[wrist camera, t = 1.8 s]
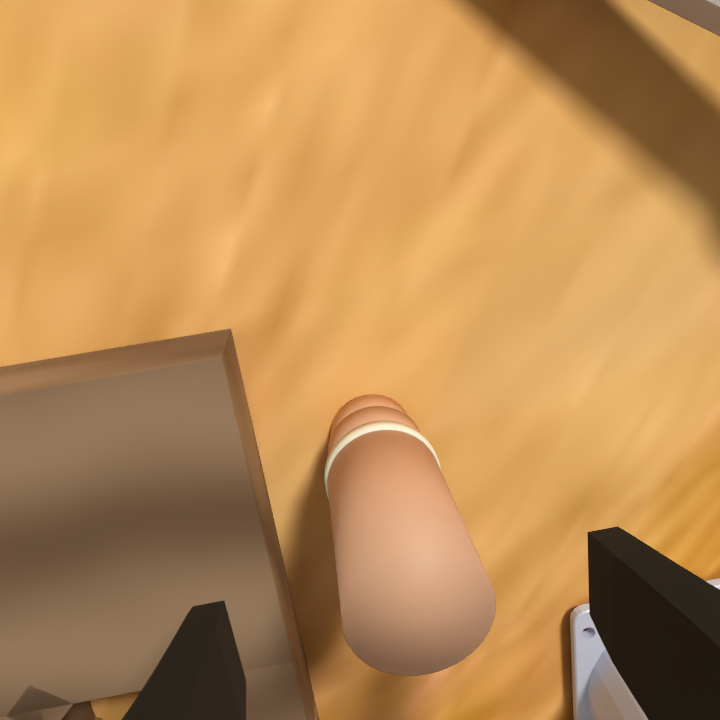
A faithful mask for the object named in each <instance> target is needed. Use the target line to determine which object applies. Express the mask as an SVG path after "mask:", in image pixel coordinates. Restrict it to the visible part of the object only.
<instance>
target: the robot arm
mask: <svg viewBox="0 0 720 720" xmlns="http://www.w3.org/2000/svg"><path fill="white" fill-rule="evenodd" d="M588 568H589V603H587V604H582V605H579V606H577V607H576V608H575V609H574V610H573V611H572V613H571V615H570V632H571V660H572V687H573V715H574V720H720V578H718V579H713V580H708V581H704V580H703V579H701V578H699V577H698V576H696V575H694V574H693V573H691V572H689V571H688V570H686V569H685V568H683V567H681V566H680V565H678V564H677V563H675V562H673V561H672V560H670V559H669V558H667V557H665V556H664V555H662V554H661V553H659V552H658V551H656V550H654V549H653V548H651V547H650V546H648V545H647V544H645V543H643V542H642V541H640V540H639V539H637V538H636V537H634V536H632V535H631V534H629V533H628V532H626V531H624V530H623V529H621V528H619V527H613V528H608V529H602V530H597V531H592V532H588ZM586 628H588V629H587V630H585V631H583V630H584V629H586ZM122 720H246V678H245V674H244V671H243V667H242V663H241V660H240V656H239V652H238V649H237V645H236V642H235V638H234V634H233V631H232V627H231V623H230V620H229V616H228V612H227V609H226V605H225V601H218V602H213V603H208V604H202V605H197V606H193V607H192V608H191V609H190V611H189V612H188V613H187V615H186V617H185V619H184V620H183V622H182V624H181V626H180V627H179V629H178V631H177V633H176V634H175V636H174V638H173V640H172V641H171V643H170V645H169V646H168V648H167V650H166V651H165V653H164V655H163V656H162V658H161V660H160V661H159V663H158V665H157V666H156V668H155V670H154V671H153V673H152V674H151V676H150V678H149V679H148V681H147V682H146V684H145V685H144V687H143V689H142V690H141V692H140V693H139V695H138V697H137V698H136V700H135V701H134V703H133V704H132V706H131V707H130V709H129V710H128V712H127V713H126V715H125V716H124V717H123V719H122Z"/></svg>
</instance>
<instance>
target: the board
mask: <svg viewBox="0 0 720 720" xmlns="http://www.w3.org/2000/svg"><path fill="white" fill-rule="evenodd" d="M218 601H225V605H226V609H227V612H228V616H229V620H230V623H231V627H232V631H233V634H234V638H235V642H236V645H237V649H238V652H239V656H240V660H241V663H242V667H243V671H244V674H245V678H246V720H319V717H318V713H317V709H316V704H315V700H314V695H313V691H312V686H311V682H310V678H309V673H308V669H307V664H306V660H305V655H304V651H303V647H302V642H301V638H300V633H299V629H298V624H297V620H296V616H295V611H294V607H293V602H292V598H291V593H290V589H289V585H288V580H287V576H286V571H285V567H284V562H283V558H282V554H281V549H280V545H279V540H278V536H277V531H276V527H275V523H274V518H273V514H272V509H271V505H270V500H269V496H268V492H267V487H266V483H265V478H264V474H263V469H262V465H261V461H260V456H259V452H258V447H257V443H256V438H255V434H254V429H253V425H252V421H251V416H250V412H249V407H248V403H247V398H246V394H245V390H244V385H243V381H242V376H241V372H240V367H239V363H238V359H237V354H236V350H235V345H234V341H233V336H232V332H231V329H227V330H221V331H215V332H209V333H203V334H197V335H191V336H185V337H179V338H173V339H167V340H161V341H155V342H149V343H143V344H137V345H131V346H125V347H119V348H113V349H107V350H101V351H95V352H89V353H83V354H77V355H71V356H66V357H60V358H54V359H48V360H42V361H36V362H30V363H24V364H18V365H12V366H6V367H0V720H102V719H99V718H97V717H95V715H94V712H93V709H92V707H91V704H90V702H89V701H90V700H95V699H101V698H106V697H111V696H116V695H122V694H127V693H132V692H137V691H141V690H142V689H143V687H144V685H145V684H146V682H147V681H148V679H149V678H150V676H151V674H152V673H153V671H154V670H155V668H156V666H157V665H158V663H159V661H160V660H161V658H162V656H163V655H164V653H165V651H166V650H167V648H168V646H169V645H170V643H171V641H172V640H173V638H174V636H175V634H176V633H177V631H178V629H179V627H180V626H181V624H182V622H183V620H184V619H185V617H186V615H187V613H188V612H189V611H190V609H191V608H192V607H193V606H197V605H202V604H208V603H213V602H218Z"/></svg>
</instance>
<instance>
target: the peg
mask: <svg viewBox="0 0 720 720" xmlns="http://www.w3.org/2000/svg"><path fill="white" fill-rule="evenodd" d="M330 436H331V437H330V440H329V443H328V459H327V461H326V465H325V473H324V478H325V488H326V493H327V497H328V500H329V505H330V514H331V524H332V533H333V543H334V552H335V562H336V572H337V581H338V591H339V600H340V610H341V619H342V629H343V633H344V636H345V639H346V641H347V643H348V645H349V647H350V648H351V650H352V651H353V652H354V653H355V654H356V655H357V657H358V658H360V659H361V660H362V661H363V662H365V663H366V664H368V665H369V666H371V667H373V668H375V669H377V670H380V671H382V672H386V673H389V674H395V675H403V676H417V675H425V674H430V673H434V672H438V671H441V670H443V669H446V668H448V667H451V666H453V665H455V664H457V663H458V662H460V661H461V660H463V659H465V658H466V657H467V656H468V655H470V654H471V653H472V652H473V651H474V650H475V649H476V648H477V647H478V646H479V645H480V644H481V643H482V641H483V640H484V639H485V637H486V635H487V634H488V632H489V630H490V628H491V626H492V623H493V620H494V617H495V610H496V600H495V594H494V590H493V587H492V584H491V582H490V580H489V578H488V575H487V573H486V571H485V569H484V566H483V564H482V562H481V560H480V557H479V555H478V553H477V551H476V548H475V546H474V544H473V542H472V539H471V537H470V535H469V533H468V530H467V528H466V526H465V524H464V521H463V519H462V517H461V515H460V512H459V510H458V508H457V506H456V503H455V501H454V499H453V497H452V494H451V492H450V490H449V488H448V485H447V483H446V481H445V479H444V476H443V474H442V472H441V468H440V463H439V460H438V457H437V455H436V453H435V451H434V449H433V447H432V445H431V444H430V442H429V441H428V439H427V438H426V437H425V436H424V435H423V434H421V433H420V431H419V429H418V427H417V425H416V424H415V423H414V421H413V420H412V419H411V418H410V417H408V415H407V414H406V412H405V410H404V409H403V408H402V407H401V406H400V405H399V404H398V403H397V402H396V401H394V400H392V399H390V398H388V397H385V396H381V395H364V396H360V397H357V398H354V399H352V400H351V401H349V402H347V403H346V404H345V405H344V406H342V407H341V408H340V410H339V411H338V412H337V414H336V415H335V417H334V419H333V421H332V424H331V430H330Z"/></svg>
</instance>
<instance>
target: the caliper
mask: <svg viewBox="0 0 720 720" xmlns="http://www.w3.org/2000/svg"><path fill="white" fill-rule="evenodd" d="M648 1H650V2H652V3H654V4H656V5H658V6H660V7H662V8H664V9H666V10H668V11H670V12H672V13H674V14H676V15H678V16H680V17H682V18H684V19H686V20H688V21H690V22H692V23H694V24H696V25H698V26H700V27H702V28H704V29H706V30H708V31H710V32H712V33H714V34H716V35H718V36H720V0H648Z"/></svg>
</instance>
